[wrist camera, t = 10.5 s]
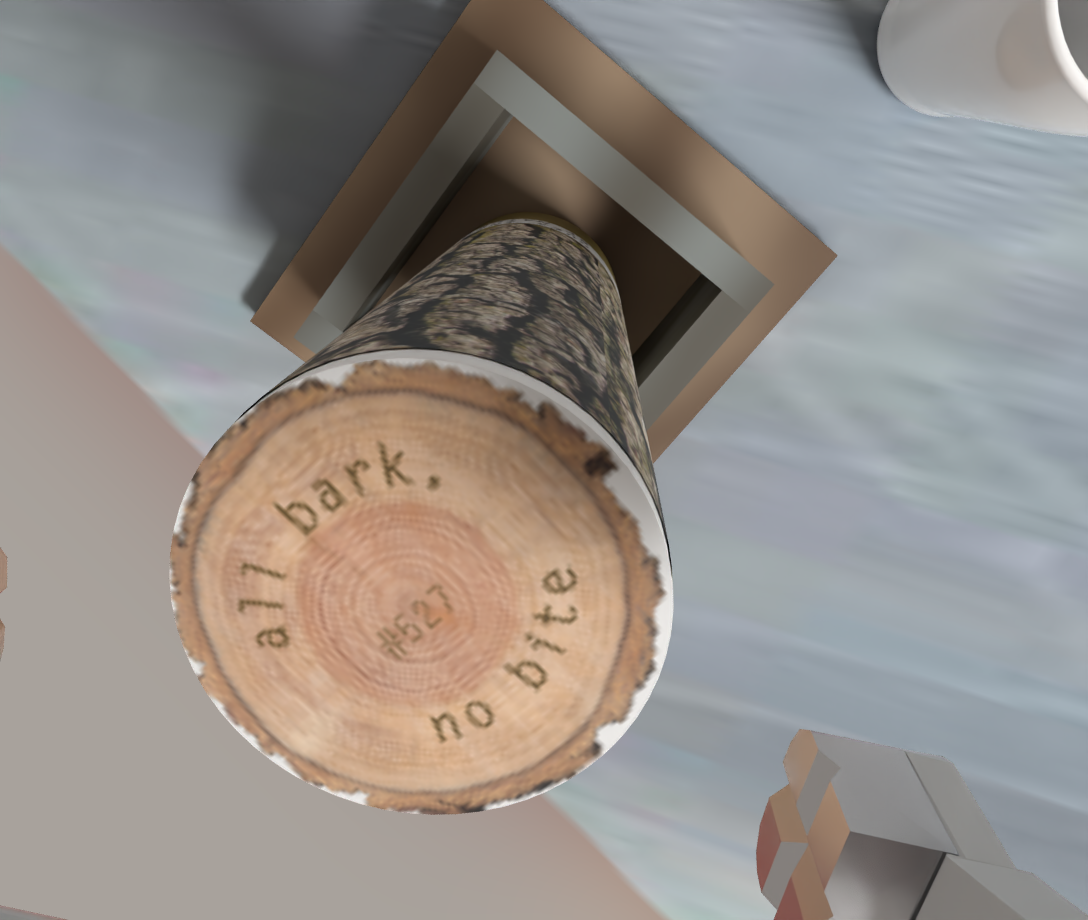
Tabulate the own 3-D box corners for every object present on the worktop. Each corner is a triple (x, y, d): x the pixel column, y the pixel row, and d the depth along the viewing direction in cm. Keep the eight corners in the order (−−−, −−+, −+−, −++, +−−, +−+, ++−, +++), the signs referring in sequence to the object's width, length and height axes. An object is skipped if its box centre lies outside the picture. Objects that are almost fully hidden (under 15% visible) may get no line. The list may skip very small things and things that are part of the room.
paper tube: (405, 294, 36) (64, 584, 13) (535, 170, 35) (420, 237, 11) (525, 421, 38) (419, 893, 14) (655, 307, 36) (781, 628, 12)
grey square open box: (258, 316, 38) (200, 347, 32) (500, -34, 34) (482, -70, 28) (569, 548, 41) (566, 615, 35) (831, 252, 36) (876, 273, 30)
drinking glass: (894, 172, 35) (1101, 194, 21) (821, -3, 33) (993, -109, 19) (1073, 78, 34) (1423, 33, 20) (1006, -110, 32) (1338, -307, 18)
